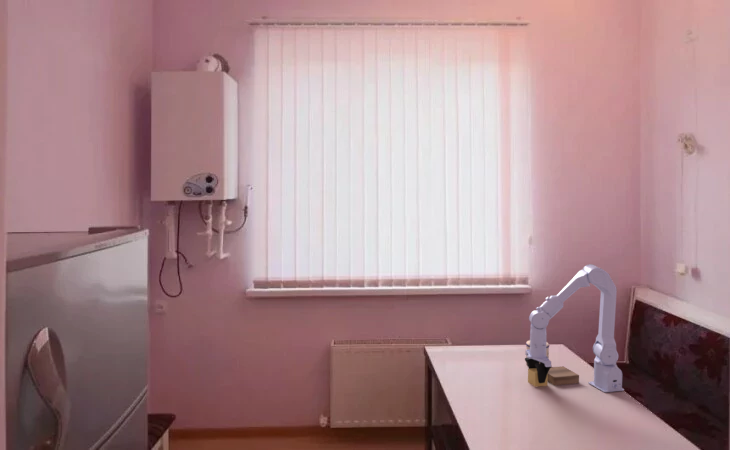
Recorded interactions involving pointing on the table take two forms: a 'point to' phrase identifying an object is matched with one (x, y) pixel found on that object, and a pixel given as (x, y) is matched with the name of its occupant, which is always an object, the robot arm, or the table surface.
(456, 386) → the table surface
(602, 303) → the robot arm
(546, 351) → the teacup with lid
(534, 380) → the ochre block
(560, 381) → the walnut base
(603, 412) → the table surface
